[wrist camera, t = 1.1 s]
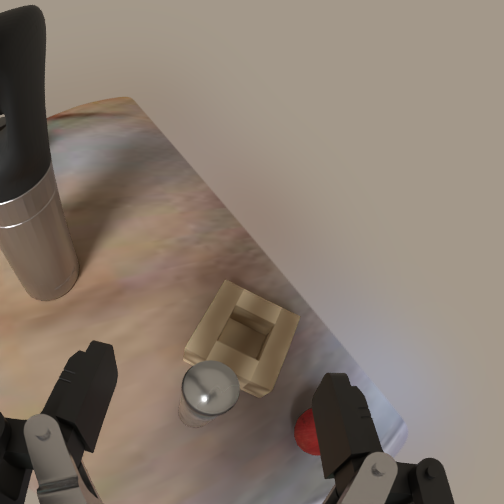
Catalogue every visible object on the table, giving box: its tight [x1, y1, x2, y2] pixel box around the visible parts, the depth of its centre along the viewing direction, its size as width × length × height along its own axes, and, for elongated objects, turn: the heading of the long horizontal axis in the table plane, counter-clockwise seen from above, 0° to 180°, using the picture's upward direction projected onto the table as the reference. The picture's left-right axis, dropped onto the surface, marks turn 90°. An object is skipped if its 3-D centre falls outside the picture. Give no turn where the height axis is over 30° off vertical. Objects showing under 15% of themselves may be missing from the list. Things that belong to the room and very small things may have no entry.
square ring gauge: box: [183, 279, 300, 398], centre depth 33 cm, size 10×10×4 cm
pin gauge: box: [178, 360, 240, 428], centre depth 23 cm, size 4×4×15 cm
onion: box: [294, 408, 320, 455], centre depth 27 cm, size 6×6×8 cm
